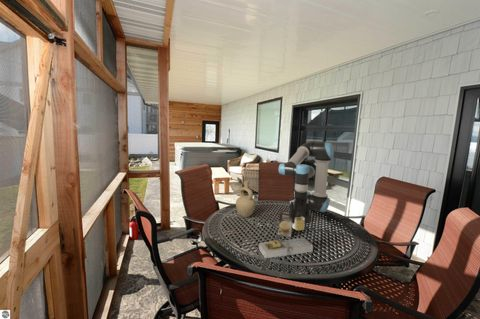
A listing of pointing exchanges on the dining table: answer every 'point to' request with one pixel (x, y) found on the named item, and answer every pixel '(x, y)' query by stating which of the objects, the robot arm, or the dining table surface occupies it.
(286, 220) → the coffee box
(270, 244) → the drawer with knob
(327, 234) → the dining table surface
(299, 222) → the gold knobbed block
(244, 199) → the vase
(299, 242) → the grey slotted tray
